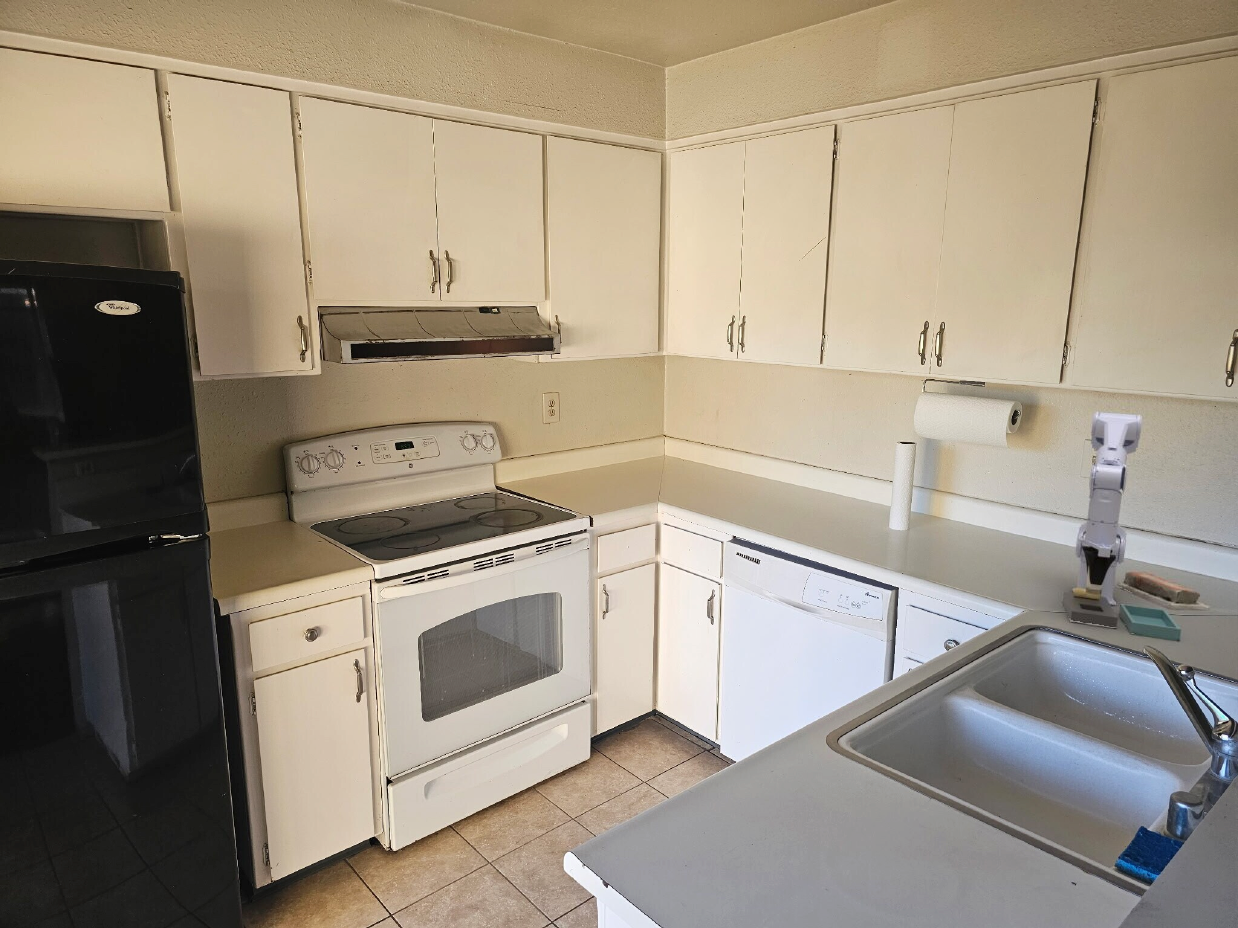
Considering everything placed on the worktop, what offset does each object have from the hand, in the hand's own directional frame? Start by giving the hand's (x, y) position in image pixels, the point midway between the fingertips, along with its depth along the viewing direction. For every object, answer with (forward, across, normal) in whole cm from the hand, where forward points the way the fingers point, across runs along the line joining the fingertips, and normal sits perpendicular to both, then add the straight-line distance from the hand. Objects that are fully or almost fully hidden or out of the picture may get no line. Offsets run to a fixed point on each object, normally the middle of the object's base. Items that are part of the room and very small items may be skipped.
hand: (1094, 582), depth 175 cm
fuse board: (+8, -3, 0) cm, 9 cm away
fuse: (+3, 0, 0) cm, 3 cm away
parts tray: (+8, 0, +11) cm, 13 cm away
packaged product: (+9, -28, +18) cm, 35 cm away
